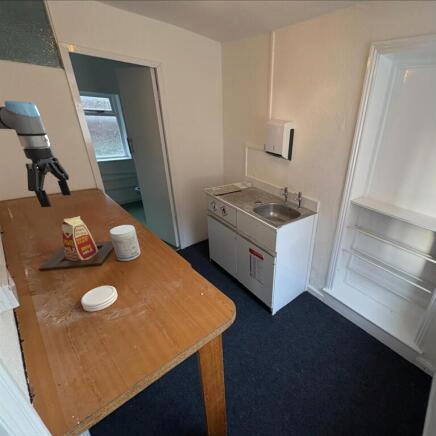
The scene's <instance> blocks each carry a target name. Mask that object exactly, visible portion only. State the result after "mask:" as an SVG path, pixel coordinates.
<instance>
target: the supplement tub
mask: <svg viewBox="0 0 436 436" xmlns="http://www.w3.org/2000/svg"><path fill="white" fill-rule="evenodd" d="M136 231H137V230H136V229H135V226H134V225H131V224H122V225H118V226H117V225H116V226H114V227H113V228H111V229H110V230H109V235H110V239H111V240H110V241H112V243H113V246H114V252H115V255H116V258H117V260H118V261H121V262H129V261H130V262H131V261H133V260H135V259H138V258H139V256H140V255H141V248H140V244H139V240H138V235H137V232H136Z"/></svg>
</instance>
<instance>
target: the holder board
mask: <svg viewBox="0 0 436 436" xmlns="http://www.w3.org/2000/svg"><path fill="white" fill-rule="evenodd" d="M94 242H95V244H96V246H97V249H99V250H98V252H97V254H96V255H94V256H93V257H91V258H89V259H87V260H75V261H74V260H67V259H66V255H65V252H64V246H63V247H61V249H59V250H58V251H57V252H56V253H55V254H54V255H52V256H51V257H50V258H49V259H48V260H47V261H45V262H44V264H42V265H41V266H40V267H39V268H38V270H39V272H48V271H49V272H50V271H59V270H69V269H79V268H80V269H81V268H82V269H83V268H93V267H101V266H103V265H104V264H105V262H106V261H107V259H108V258H109V257H110V255H111V254H112V253H113V251H115V249H114V246H113V243H112V240H108V241H94Z"/></svg>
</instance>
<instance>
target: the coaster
mask: <svg viewBox="0 0 436 436" xmlns="http://www.w3.org/2000/svg"><path fill="white" fill-rule="evenodd" d="M117 300H118V292H117V289H116V287H114V286H112V285H101V286H97V287H94V288H92V289H91V290H88V291H87V292H86V293H85V294H84V295H83V296H82V297H81V299H80V303H81V306H82V308H83V310H84V311H86V312H98V311H102V310H105V309H107V308H109V307H110V306H112V305H113V304H114V303H116V301H117Z"/></svg>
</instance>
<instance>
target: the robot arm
mask: <svg viewBox="0 0 436 436" xmlns="http://www.w3.org/2000/svg"><path fill="white" fill-rule="evenodd" d="M3 104H4V106H0V130H14V131H15V133H16V135H17V139H18V141H19V143H20V146H21V147H22V148H23V149H22V151H23V153H24V155H25V158H27V160H31V163H25V168H26V172H27V173H26V174H27V175H26V176H27V191H28V192H34V193H35V196H36V198H37V200H38V203H39V205H40V207H41V208H50V207H52V203H51V201H50V199H49V197H48V193H47V192H46V191H47V190H45V189H44V185H45V179H46V176H47V174H48V173H50V174H51V175H52V176H54V177H55V178H56V179H57V184H58V187H59V190H60V192H61V194H62V196H63V197H65V196H66V197H67V196H72V193H71V190H70V187H69V185H68V182H67V181H69V180H70V178H69V177H70V176H69V175H70V174H68V172H67V171H66V170H65V168H64V167H63V165H62V164H61V163H60V161H59V159H58V157H55V154H54V152H53V151H54V150H53V148H52V147H51V143H50V139H49V138H48V135H47V133H46V129H45V125H44V123H43V120H42V116H41V114H40V112H39V110H38V107H37V105H36V104H35V103H34V102H31V101H20V100H4V103H3Z"/></svg>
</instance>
